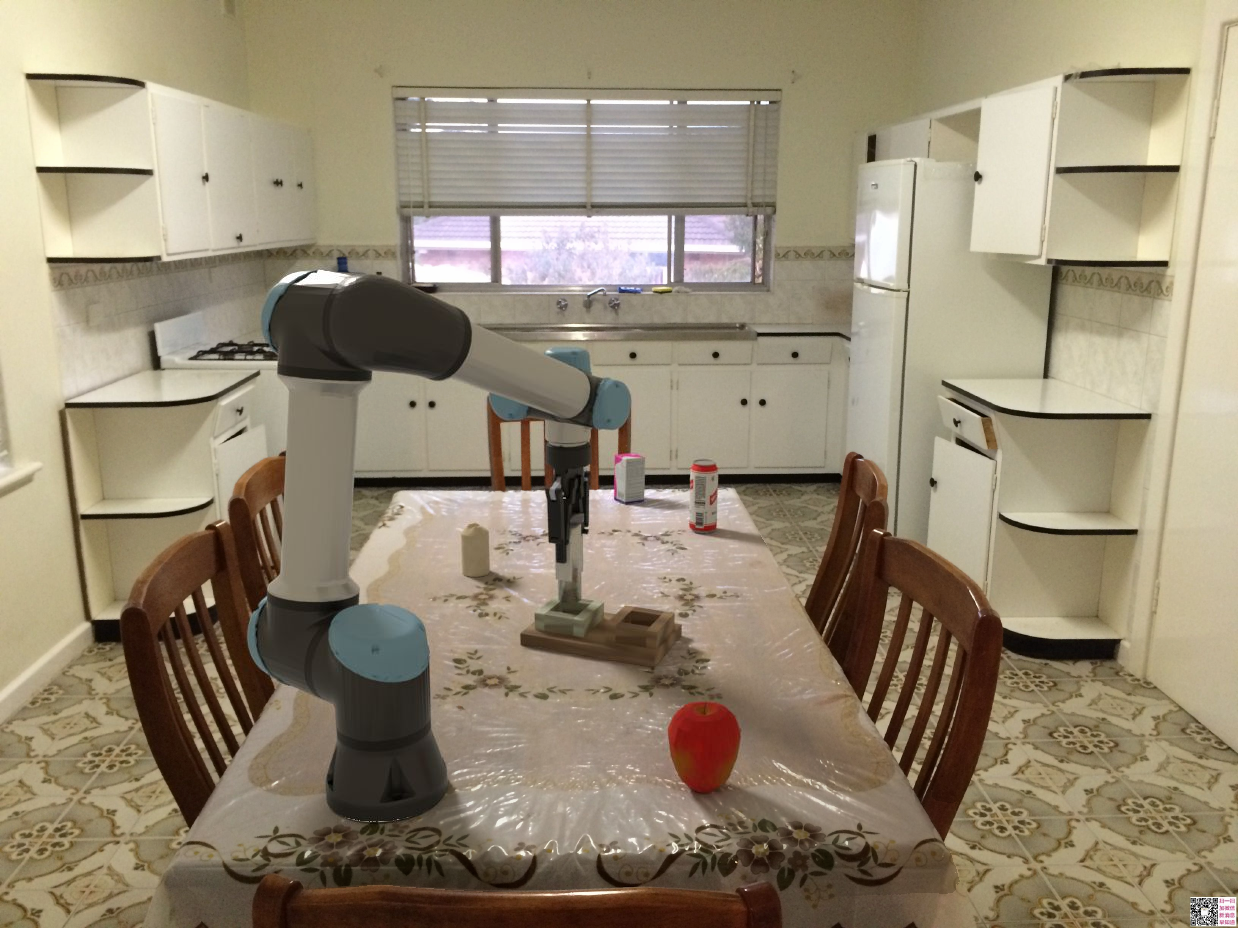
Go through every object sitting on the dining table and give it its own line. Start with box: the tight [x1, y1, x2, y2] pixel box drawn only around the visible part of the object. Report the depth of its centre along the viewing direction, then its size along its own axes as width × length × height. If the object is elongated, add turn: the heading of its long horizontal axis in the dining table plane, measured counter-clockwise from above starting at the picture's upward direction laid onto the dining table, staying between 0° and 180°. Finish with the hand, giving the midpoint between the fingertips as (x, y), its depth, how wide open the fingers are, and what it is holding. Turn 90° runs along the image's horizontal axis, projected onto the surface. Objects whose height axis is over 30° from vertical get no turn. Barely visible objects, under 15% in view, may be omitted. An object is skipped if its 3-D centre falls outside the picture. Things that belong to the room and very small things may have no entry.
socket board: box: [519, 594, 683, 668], centre depth 181 cm, size 14×24×5 cm, turn 68°
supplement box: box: [613, 452, 646, 505], centre depth 263 cm, size 6×6×12 cm
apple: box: [666, 700, 742, 794], centre depth 135 cm, size 9×9×12 cm
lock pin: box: [557, 511, 584, 603], centre depth 180 cm, size 5×5×15 cm
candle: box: [460, 522, 491, 578], centre depth 212 cm, size 6×6×10 cm
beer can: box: [688, 458, 719, 534], centre depth 239 cm, size 6×6×16 cm
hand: (569, 574), depth 181 cm, fingers closed on lock pin, 4 cm apart
